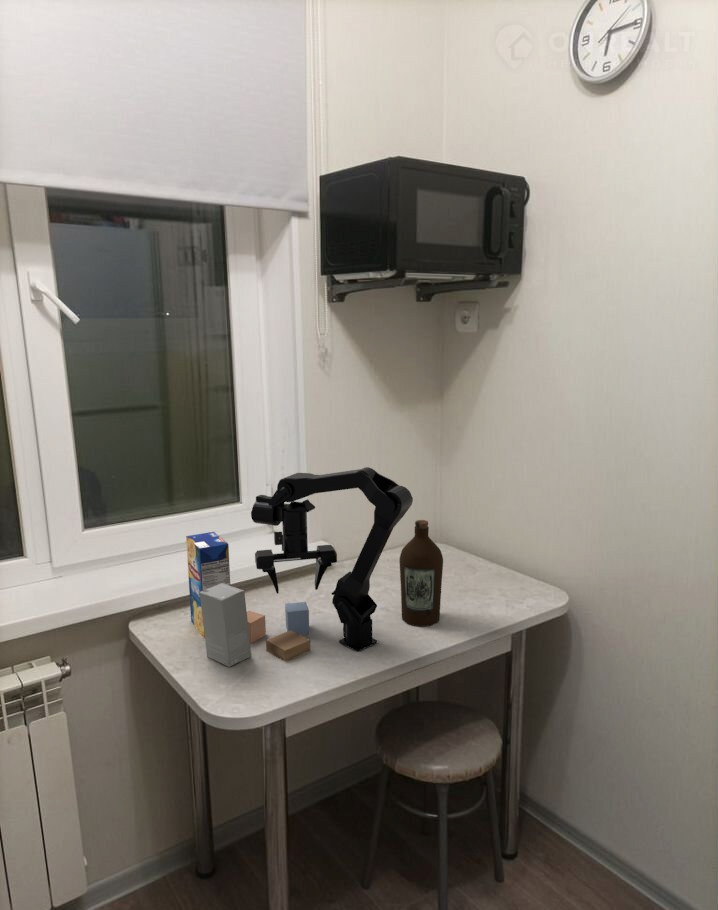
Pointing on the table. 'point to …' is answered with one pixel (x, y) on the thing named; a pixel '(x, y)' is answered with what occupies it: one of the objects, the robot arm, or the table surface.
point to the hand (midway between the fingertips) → (296, 591)
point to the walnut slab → (288, 645)
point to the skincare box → (225, 624)
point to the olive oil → (421, 578)
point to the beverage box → (205, 569)
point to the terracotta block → (256, 625)
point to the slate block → (297, 617)
